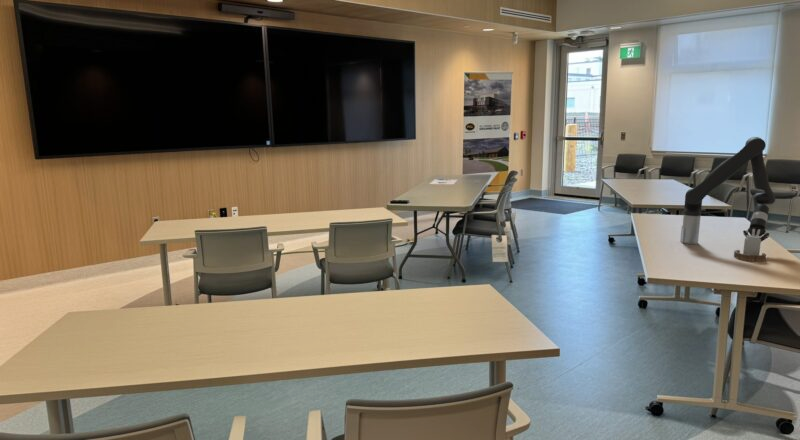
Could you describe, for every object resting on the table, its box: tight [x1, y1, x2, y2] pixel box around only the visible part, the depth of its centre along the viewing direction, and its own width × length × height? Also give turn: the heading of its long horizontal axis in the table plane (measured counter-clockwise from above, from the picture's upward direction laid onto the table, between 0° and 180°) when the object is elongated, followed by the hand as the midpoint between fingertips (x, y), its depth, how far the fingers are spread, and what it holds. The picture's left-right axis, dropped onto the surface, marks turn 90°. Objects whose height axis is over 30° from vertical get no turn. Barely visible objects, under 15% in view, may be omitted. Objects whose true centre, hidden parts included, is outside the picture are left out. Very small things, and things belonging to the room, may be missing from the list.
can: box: [742, 234, 762, 256], centre depth 297 cm, size 8×8×12 cm
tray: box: [733, 249, 767, 262], centre depth 296 cm, size 15×13×3 cm
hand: (753, 246), depth 301 cm, fingers closed
